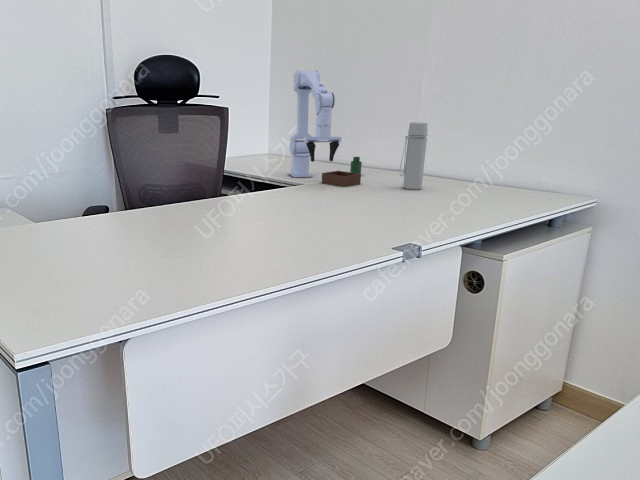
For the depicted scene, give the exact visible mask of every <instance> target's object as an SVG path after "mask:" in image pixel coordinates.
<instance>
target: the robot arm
mask: <svg viewBox="0 0 640 480" xmlns="http://www.w3.org/2000/svg"><path fill="white" fill-rule="evenodd" d="M293 91H294V92H296V94H297V103H296V104H297V106H296V107H297V109H296V110H297V113H296V132H295V133H294V134H293V135H291V137H290V139H289V148H288V149H289V153H290V155H291V156H292V158H291V160H290V161H291V166H290V167H291V168H290V172H289V173H288V175H290V176H292V177H293V178H312V175H311V174H310V162H312V163H313V162H315V152H316V146H317V145H316V143H329V155H328V156H329V157H328V158H329V160H328V161H329V162H333V161H334V157H335V154H336V153H337V150H338V148H339V147H340V143H342V136H331V135H332V134H331V131H332V114H333V112H332V111H333V108H334V107H335V103H336V98H335V94H334V92H329V91H328V89H327V87H326V86H325V85H324V84H323V83H322V82H321V74H320V72H319V70H299V69H298V70H296V71H295V72H294V75H293ZM310 93H311V96H312V97H313V98H314V106H315V114H316V119H315V121H316V123H315V136H313V135H311V134H310V133H309V106H310V105H309V103H310V101H309V100H310Z"/></svg>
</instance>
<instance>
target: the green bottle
mask: <svg viewBox="0 0 640 480" xmlns="http://www.w3.org/2000/svg"><path fill="white" fill-rule="evenodd" d="M362 163H363V161H361V157H360V156H353V158H352V160H351V161H350V171H349V172H350V173H357V174H361V175H362Z"/></svg>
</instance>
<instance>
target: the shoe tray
mask: <svg viewBox="0 0 640 480" xmlns="http://www.w3.org/2000/svg"><path fill="white" fill-rule="evenodd" d="M361 177H362V173H361V174H357V173H350V171H344V170H334V171H327V172H322V173H321V184H325V185H332V186H338V187H343V188H345V187H351V186H356V185H357V186H358V185H361Z"/></svg>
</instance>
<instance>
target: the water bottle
mask: <svg viewBox="0 0 640 480" xmlns="http://www.w3.org/2000/svg"><path fill="white" fill-rule="evenodd" d="M428 124H429V123H428V122H421V121H420V122H419V121H418V122H417V121H415V122H413V121H412V122H409V127H408V130H407V131H408V132H407V135H405V143H404V147H403V152H402V155H401V161H400V165H399V170H401V168H402V163H403V173H402V174H401V173H399V176H400V177H403V184H402V187H403V189H405V190H411V191H416V190H417V191H418V190H420V189H422V185H423V179H424V168H425V161H426V160H425V159H426V153H427V152H426V149H427V143H428ZM404 157H405V160H404V162H403V159H404Z"/></svg>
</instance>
